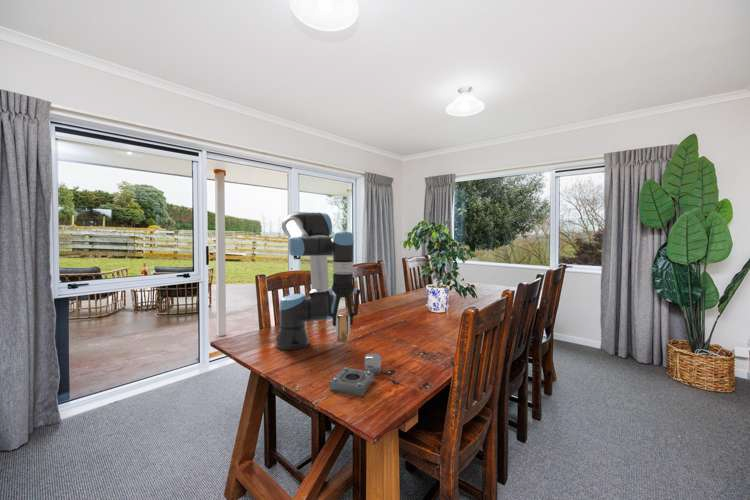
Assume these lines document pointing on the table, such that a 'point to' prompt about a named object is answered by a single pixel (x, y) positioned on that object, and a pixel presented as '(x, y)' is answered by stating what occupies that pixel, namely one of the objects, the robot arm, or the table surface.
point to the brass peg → (342, 328)
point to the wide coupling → (373, 363)
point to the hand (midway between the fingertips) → (342, 333)
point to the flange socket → (352, 381)
